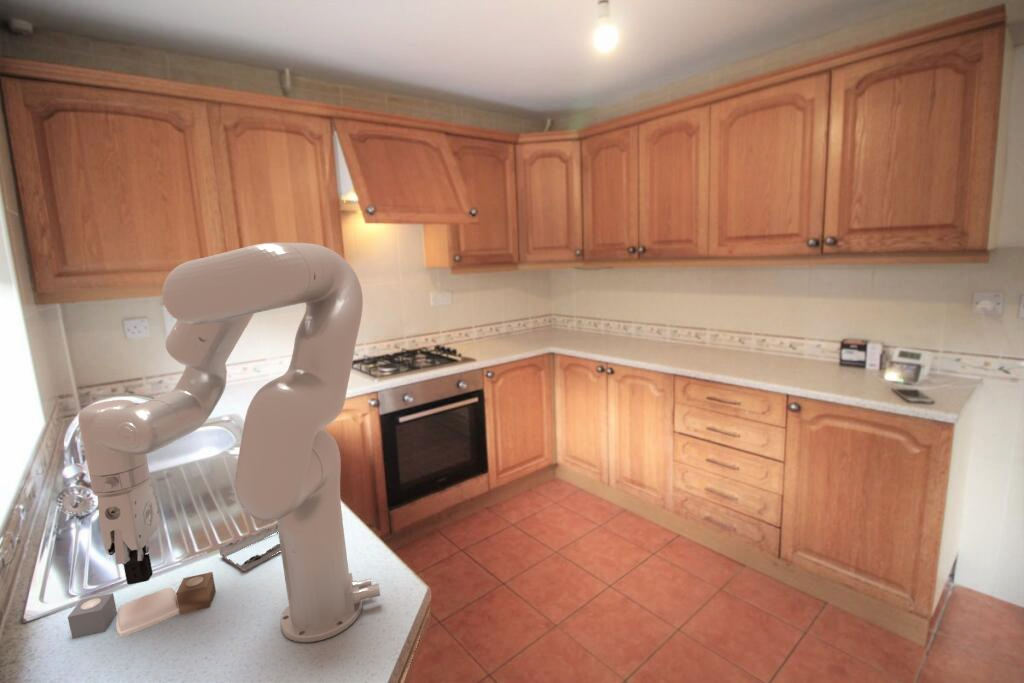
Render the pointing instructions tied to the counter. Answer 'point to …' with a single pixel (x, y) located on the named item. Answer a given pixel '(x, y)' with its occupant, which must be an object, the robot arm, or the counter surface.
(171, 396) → the robot arm
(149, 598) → the soap
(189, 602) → the walnut block
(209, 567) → the counter surface
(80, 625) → the slate grey block
